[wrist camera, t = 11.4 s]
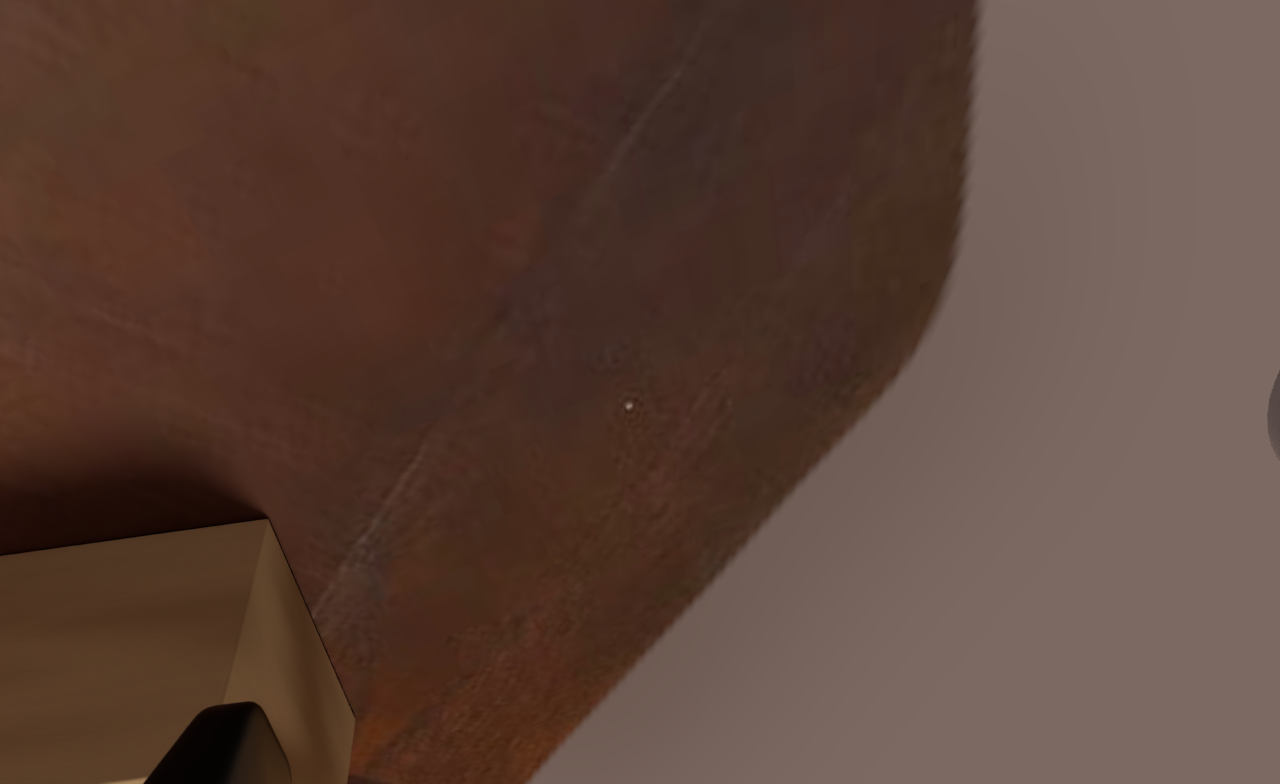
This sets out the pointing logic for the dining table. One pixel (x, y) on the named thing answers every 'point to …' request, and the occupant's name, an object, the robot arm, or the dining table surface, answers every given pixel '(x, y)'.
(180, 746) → the robot arm
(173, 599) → the stand
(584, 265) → the dining table surface
